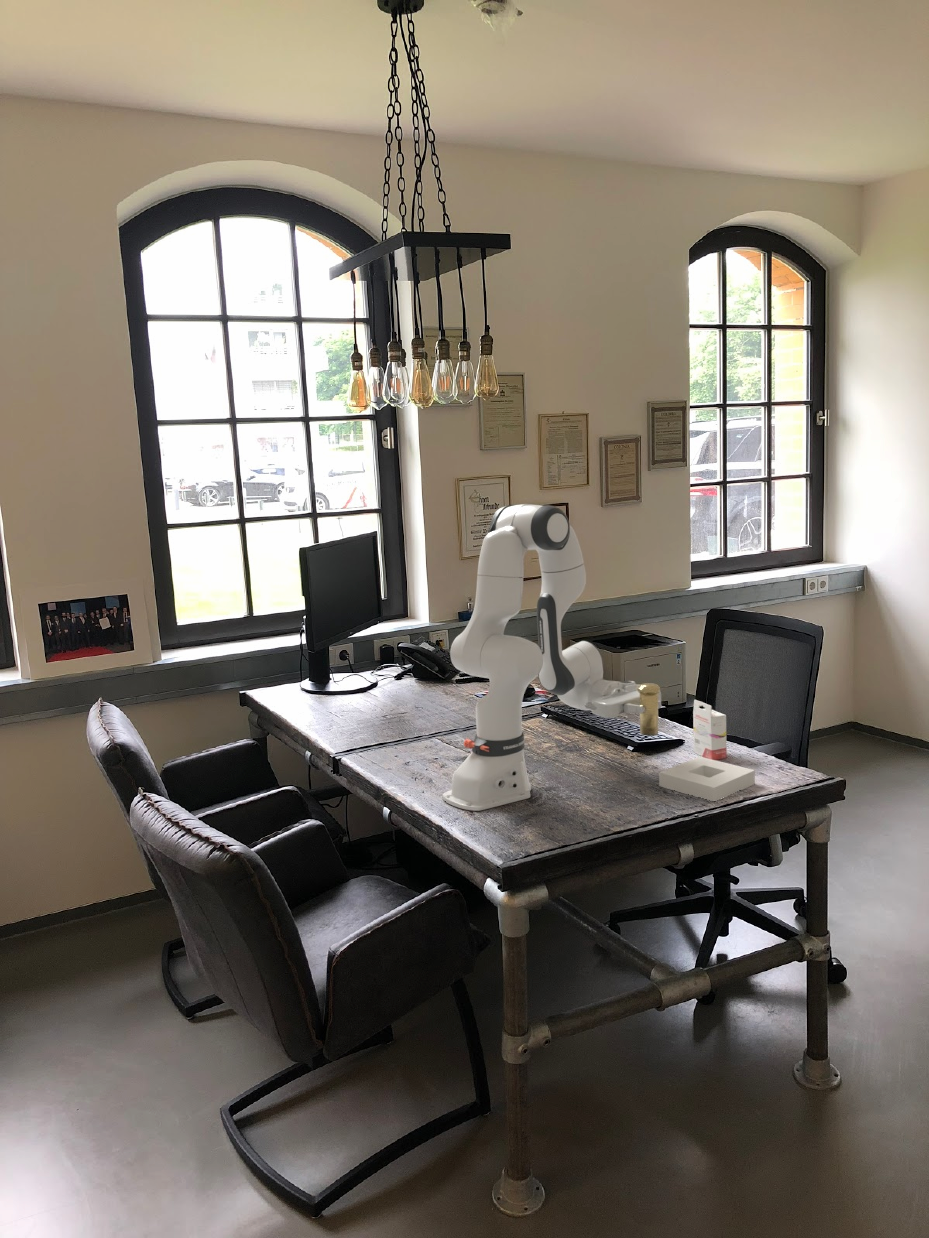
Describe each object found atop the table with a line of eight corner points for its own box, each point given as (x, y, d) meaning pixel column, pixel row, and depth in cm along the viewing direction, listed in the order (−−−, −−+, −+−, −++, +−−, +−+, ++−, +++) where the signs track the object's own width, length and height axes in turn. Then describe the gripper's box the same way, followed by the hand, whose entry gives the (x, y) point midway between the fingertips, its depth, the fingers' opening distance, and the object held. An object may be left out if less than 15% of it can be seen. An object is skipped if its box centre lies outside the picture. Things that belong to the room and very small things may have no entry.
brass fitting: (650, 737, 238) (650, 688, 236) (633, 732, 242) (632, 685, 240) (664, 732, 241) (664, 685, 239) (647, 728, 245) (647, 681, 243)
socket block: (714, 802, 226) (714, 787, 225) (659, 786, 238) (659, 772, 237) (754, 784, 236) (754, 770, 235) (700, 769, 248) (699, 756, 247)
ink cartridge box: (727, 758, 256) (727, 703, 253) (711, 761, 254) (711, 706, 251) (708, 749, 264) (707, 696, 261) (692, 752, 262) (691, 699, 259)
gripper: (580, 693, 243) (623, 702, 233) (635, 679, 256) (677, 687, 245) (581, 718, 244) (623, 728, 234) (635, 702, 257) (677, 712, 247)
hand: (651, 707), depth 240 cm, fingers closed on brass fitting, 4 cm apart
